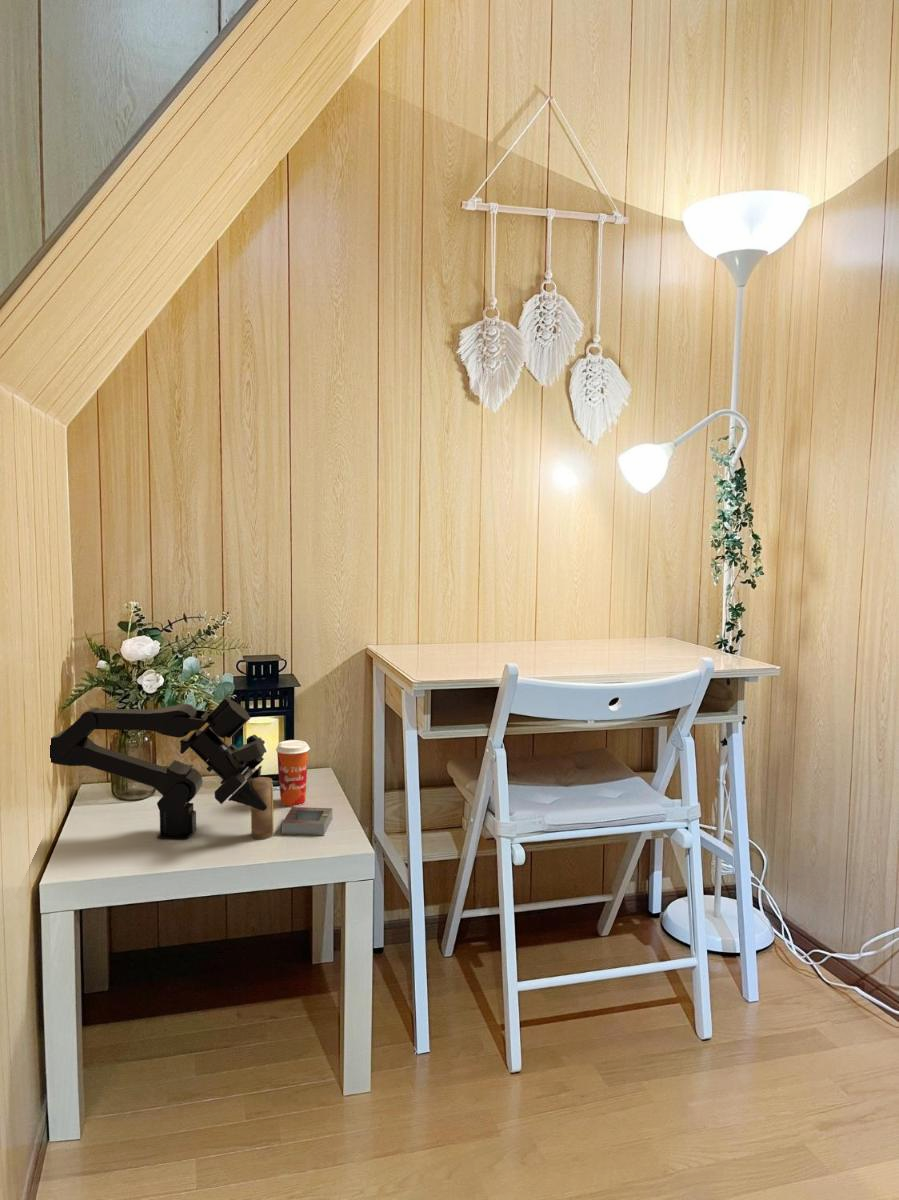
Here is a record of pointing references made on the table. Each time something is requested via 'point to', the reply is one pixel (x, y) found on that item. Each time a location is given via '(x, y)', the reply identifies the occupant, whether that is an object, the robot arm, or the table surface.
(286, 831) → the grey square socket base
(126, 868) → the table surface
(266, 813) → the walnut peg
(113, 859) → the table surface
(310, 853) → the table surface
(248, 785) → the robot arm
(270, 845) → the table surface
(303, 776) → the paper cup
